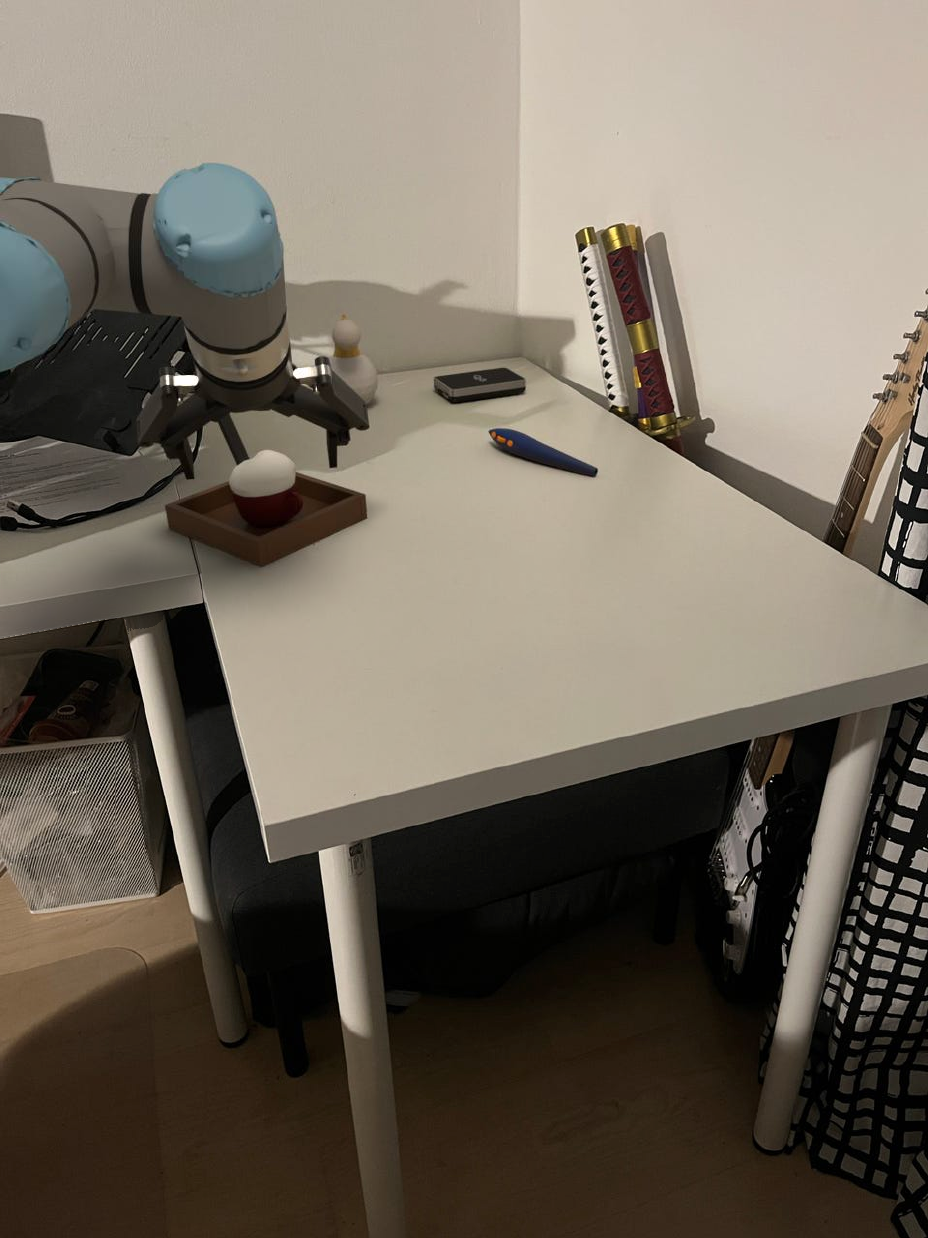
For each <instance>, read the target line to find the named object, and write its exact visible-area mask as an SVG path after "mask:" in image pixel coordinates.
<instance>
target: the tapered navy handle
mask: <svg viewBox="0 0 928 1238" xmlns="http://www.w3.org/2000/svg"><path fill="white" fill-rule="evenodd" d="M487 432H488V434H489V436H490V437H491V439H492V440H493V442H494V443H495V444H496V445H497V446H499V447H500V448H501V449H503V450H505V451H506V452H509V453H511V454H513V455H515V456H518V457H520V458H524V459H526V460H529V461H533V462H536V463H538V464H542V465H546V466H550V467H552V468H557V469H562V470H565V471H569V472H573V473H577V474H582V475H586V476H590V477H596V476H597V475H598V472H599V468H598V467H596V466H594V465H591V464H589V463H587V462H585V461H583V460H580V459H578V458H576V457H574V456H571V455H569V454H567V453H565V452H564V451H560V450H559V449H557V448H555V447H552V446H550V445H548V444H546V443H543V442H541V441H539V440H537V439H536V438H533V437H532V436H530V435H528V434H526V433H524V432H521V431H518V430H515V429H511V428H506V427H505V428H504V427H503V428H502V427H496V428H492V429H489V430H488V431H487Z"/></svg>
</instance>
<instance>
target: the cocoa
mask: <svg viewBox="0 0 928 1238" xmlns="http://www.w3.org/2000/svg"><path fill="white" fill-rule="evenodd" d="M217 424H218V427H219V429H220V431H221V433H222V436H223V437H224V440H225V442H226V444H227V446H228V449H229V451H230V453H231V455H232V458H233V459H234V462H235V464H236V466H234V467H233V470H232V472H231V474H230V477H229V479H228V481H229V485H230V488H231V491H232V495H233V499H234V502H235V505H236V507H237V509H238V511H239V513H240V515H241V517H242V518H243V519H244V520H245V521H246V522H248V523H250V524H252V525H255V526H258V527H270V526H275V525H279V524H282V523H284V522H286V521H287V520H288V519H291V518H292V517H294V516H295V515H297V514H298V513H299V512H300V510H301V509H302V507H303V500H302V497H301V495H300V494H299V493H298V486H297V481H296V479H295V476H296V472H297V471H296V464H295V462H293V460H291V459H290V458H289V457H288V456H286V455H285V454H284V453H281V452H278V451H275V450H271V449H264V450H261V451H258V452H257V454H255V455H254V457H252V458H250V456H249V454H248V452H247V449H246V447H245V445H244V443H243V440H242V438H241V436H240V434H239V431H238V429H237V428H236V425H235V423H234V420H233V418H232V416H231V413H229V414H228V415H227V416H225V417H224V418H222V419H221V420H219V421H218V422H217Z"/></svg>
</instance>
